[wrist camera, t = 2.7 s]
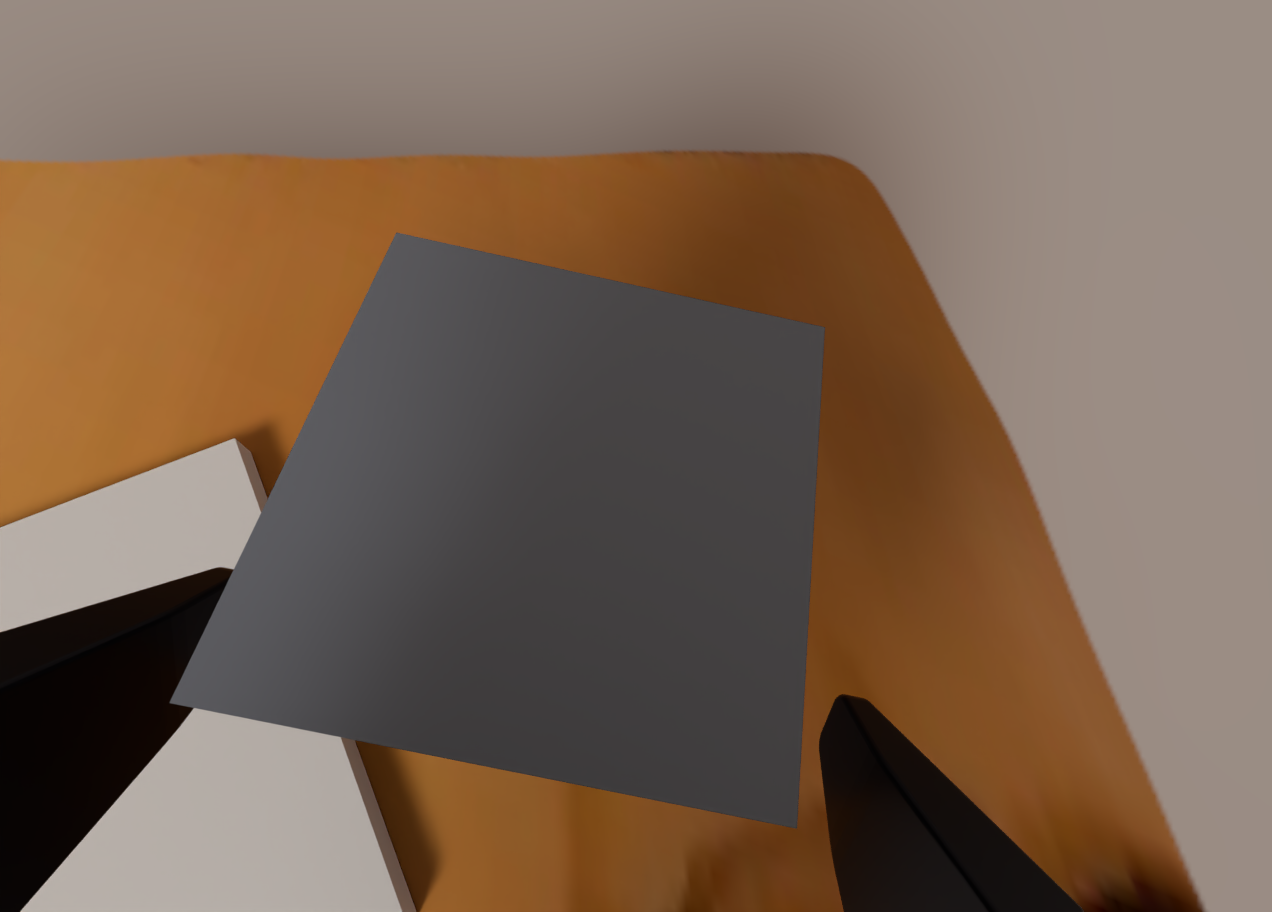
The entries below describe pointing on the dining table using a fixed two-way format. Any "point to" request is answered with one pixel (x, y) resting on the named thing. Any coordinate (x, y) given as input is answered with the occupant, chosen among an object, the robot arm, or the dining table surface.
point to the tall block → (542, 537)
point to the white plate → (199, 725)
